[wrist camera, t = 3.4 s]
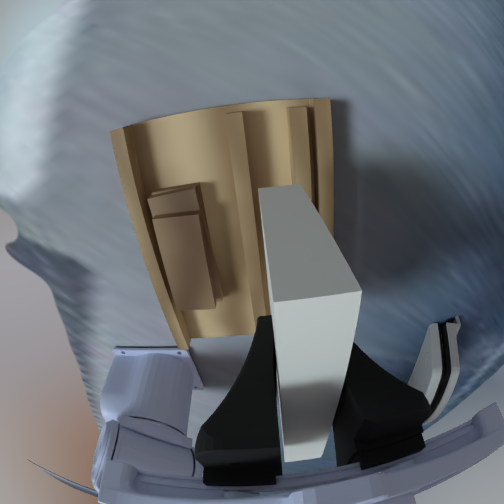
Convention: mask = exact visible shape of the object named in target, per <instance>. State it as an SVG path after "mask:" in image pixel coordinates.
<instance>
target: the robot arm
mask: <svg viewBox="0 0 504 504" xmlns="http://www.w3.org/2000/svg"><path fill="white" fill-rule="evenodd" d="M113 353H114V355H115V357H114V360H113V362H112V365H111V368H110V370H109V373H108V376H107V379H106V381H105V384H104V387H103V390H102V393H101V401H100V405H101V412H102V416H103V418H104V420H105V421H106V423H105V424H104V426H103V428H102V431H101V434H100V436H99V440H98V443H97V447H96V451H95V454H94V460H93V468H92V472H91V480H92V483H93V487H94V488H95V490H96V491H97V492H98V493H99V494H98V500H97V501H98V502H99V503H102V504H416V502H415V498H414V495H415V494H418V493H420V492H422V491H424V490H427V489H429V488H431V487H433V486H435V485H437V484H440V483H442V482H444V481H445V480H447V479H449V478H451V477H453V476H455V475H457V474H459V473H461V472H462V471H464V470H466V469H468V468H469V467H471V466H473V465H474V464H476V463H478V462H479V461H481V460H483V459H484V458H486V457H487V456H489V455H490V454H492V453H493V452H494V451H495V450H497V449H498V448H499V447H501V446H502V445H503V444H504V419H503V416H502V414H501V412H500V410H499V408H498V406H497V404H496V403H493V404H491V405H489V406H488V407H486V408H484V409H482V410H481V411H479V412H478V413H477V414H476V415H475V416H474V417H473V418H472V419H471V420H470V421H468V422H466V423H464V424H462V425H460V426H458V427H456V428H453V429H451V430H449V431H447V432H445V433H443V434H441V435H438V436H436V437H434V438H431V439H428V440H426V441H424V439H423V436H422V434H421V433H423V428H422V424H423V423H424V421H425V420H426V419H427V418H428V417H429V415H430V413H431V407H430V404H429V402H428V400H427V398H426V397H425V395H424V393H423V392H421V391H419V390H417V389H415V388H413V387H411V386H409V385H407V384H405V383H404V382H402V381H400V380H399V379H397V378H396V377H394V376H393V375H391V374H390V373H388V372H387V371H385V370H384V369H383V368H381V367H380V366H379V365H378V364H376V363H375V362H374V361H373V360H372V359H371V358H369V357H368V356H367V355H366V354H365V353H364V352H363V351H362V350H361V349H360V348H359V347H358V346H357V345H356V344H355V343H354V342H353V345H352V350H351V354H350V359H349V363H348V367H347V372H346V376H345V380H344V384H343V388H342V391H341V395H340V399H339V403H338V406H337V410H336V413H335V416H334V420H333V423H332V425H333V432H334V440H335V449H336V460H337V467H335V468H330V469H324V470H318V471H312V472H305V473H298V474H289V475H282V463H281V451H280V439H279V428H278V416H277V402H276V391H277V366H276V354H275V342H274V331H273V322H272V315H267V316H259V317H258V318H257V326H256V331H255V335H254V338H253V342H252V345H251V348H250V351H249V353H248V356H247V358H246V361H245V363H244V365H243V367H242V370H241V372H240V374H239V375H238V377H237V379H236V381H235V383H234V384H233V386H232V388H231V389H230V391H229V393H228V394H227V396H226V397H225V398H224V400H223V401H222V402H221V404H220V405H219V406H218V408H217V409H216V410H215V412H214V413H213V414H212V415H211V416H210V417H209V418H208V420H207V421H206V422H205V423H204V424H203V425H202V426H201V428H200V431H199V433H198V436H197V440H196V444H195V448H194V447H192V439H191V438H188V437H187V428H188V420H189V412H190V404H191V396H192V389H203V388H204V385H203V383H202V380H201V378H200V376H199V374H198V371H197V369H196V367H195V364H194V362H193V360H192V357H191V355H190V352H189V350H179V349H178V348H113ZM203 467H204V470H203ZM377 472H381V473H377ZM202 474H203V477H202ZM302 488H303V489H302ZM294 489H300V490H296V491H293V492H287V493H281V494H273V495H264V496H260V494H259V493H256V492H273V491H285V490H294Z"/></svg>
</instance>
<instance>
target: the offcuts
mask: <svg viewBox="0 0 504 504" xmlns="http://www.w3.org/2000/svg"><path fill="white" fill-rule="evenodd" d="M147 200H148V203H149V207H150V210H151V213H152V216H153V219H152V221H153V225H154V229H155V233H156V237H157V241H158V245H159V249H160V253H161V257H162V260H163V264H164V268H165V271H166V275H167V278H168V282H169V285H170V289H171V292H172V295H173V299H174V302H175V305H176V308H177V311H182V310H207V309H216V304H217V303H216V302H222V299H223V297H224V290H223V286H222V282H221V279H220V275H219V272H218V268H217V264H216V261H215V257H214V253H213V248H212V243H211V239H210V234H209V228H208V223H207V218H206V213H205V208H204V202H203V197H202V192H201V186H200V182H198V183H191V184H185V185H179V186H173V187H167V188H161V189H156V190H154V191H153V192H152V195H151V196H150V197H149V198H148V199H147Z"/></svg>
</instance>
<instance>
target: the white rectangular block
mask: <svg viewBox="0 0 504 504" xmlns="http://www.w3.org/2000/svg"><path fill="white" fill-rule="evenodd" d="M258 193H259V202H260V211H261V221H262V230H263V240H264V250H265V259H266V269H267V279H268V289H269V300H270V310H271V315H272V322H273V331H274V342H275V354H276V366H277V383H278V394H279V404H280V414H281V425H282V436H283V446H284V457H285V462H290V461H298V460H306V459H313V458H319V457H321V456H322V454H323V451H324V448H325V445H326V442H327V439H328V436H329V433H330V430H331V426H332V423H333V420H334V416H335V413H336V410H337V406H338V403H339V399H340V395H341V391H342V388H343V384H344V380H345V376H346V372H347V367H348V363H349V359H350V354H351V350H352V345H353V340H354V335H355V330H356V325H357V319H358V313H359V308H360V302H361V295H362V289H361V288H360V286H359V284H358V282H357V280H356V278H355V276H354V274H353V273H352V271H351V269H350V267H349V265H348V263H347V262H346V260H345V258H344V256H343V254H342V253H341V251H340V249H339V247H338V245H337V244H336V242H335V240H334V238H333V237H332V235H331V233H330V232H329V230H328V228H327V226H326V225H325V223H324V221H323V220H322V218H321V216H320V215H319V213H318V211H317V210H316V208H315V206H314V205H313V203H312V202H311V200H310V198H309V197H308V195H307V194H306V192H305V190H304V189H303V187H302V186H301V184H298V185H286V186H276V187H266V188H258Z"/></svg>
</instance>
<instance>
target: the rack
mask: <svg viewBox="0 0 504 504" xmlns="http://www.w3.org/2000/svg"><path fill="white" fill-rule="evenodd" d="M110 135H111V140H112V144H113V149H114V154H115V158H116V163H117V167H118V171H119V175H120V179H121V183H122V187H123V191H124V195H125V199H126V202H127V206H128V210H129V213H130V217H131V220H132V223H133V227H134V230H135V233H136V237H137V240H138V243H139V246H140V249H141V252H142V255H143V258H144V261H145V264H146V267H147V270H148V273H149V276H150V278H151V281H152V284H153V287H154V289H155V292H156V295H157V297H158V300H159V303H160V305H161V308H162V310H163V313H164V315H165V318H166V320H167V323H168V325H169V327H170V330H171V332H172V335H173V337H174V339H175V342H176V344H177V346H178V349H179V350H189V346H190V341H191V338H207V337H223V336H236V335H248V334H255V331H256V326H257V318H258V317H259V316H267V315H271V310H270V300H269V289H268V279H267V269H266V259H265V250H264V240H263V230H262V221H261V211H260V202H259V193H258V188H266V187H276V186H286V185H298V184H301V186H302V187H303V189H304V190H305V192H306V194H307V195H308V197H309V198H310V200H311V202H312V203H313V205H314V206H315V208H316V210H317V211H318V213H319V215H320V216H321V218H322V220H323V221H324V223H325V225H326V226H327V228H328V230H329V232H330V233H331V235H332V237H333V234H334V163H333V137H332V119H331V104H330V99H293V100H276V101H264V102H253V103H244V104H236V105H228V106H221V107H214V108H208V109H202V110H196V111H191V112H185V113H180V114H175V115H171V116H166V117H162V118H157V119H153V120H149V121H145V122H141V123H137V124H134V125H130V126H126V127H123V128H119V129H116V130H112V131H110ZM198 182H200V186H201V192H202V197H203V202H204V208H205V213H206V218H207V223H208V228H209V234H210V239H211V243H212V248H213V253H214V257H215V261H216V264H217V268H218V272H219V275H220V279H221V282H222V286H223V290H224V297H223V299H222V302H216V303H217V304H216V309H207V310H182V311H177V308H176V305H175V302H174V299H173V295H172V292H171V289H170V285H169V282H168V278H167V275H166V271H165V268H164V264H163V260H162V257H161V253H160V249H159V245H158V241H157V237H156V233H155V229H154V225H153V221H152V219H153V216H152V213H151V210H150V207H149V203H148V200H147V199H148V198H149V197H150V196H151V195H152V192H153V191H154V190H156V189H161V188H167V187H173V186H179V185H185V184H191V183H198Z"/></svg>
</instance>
